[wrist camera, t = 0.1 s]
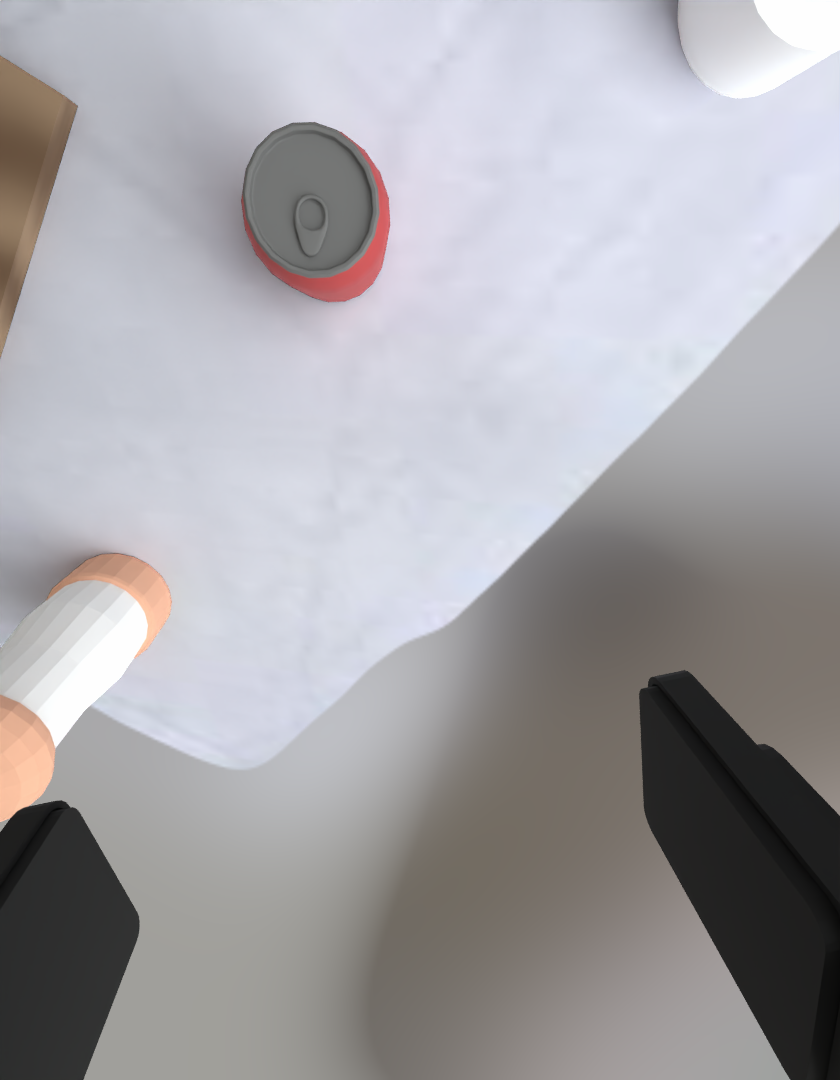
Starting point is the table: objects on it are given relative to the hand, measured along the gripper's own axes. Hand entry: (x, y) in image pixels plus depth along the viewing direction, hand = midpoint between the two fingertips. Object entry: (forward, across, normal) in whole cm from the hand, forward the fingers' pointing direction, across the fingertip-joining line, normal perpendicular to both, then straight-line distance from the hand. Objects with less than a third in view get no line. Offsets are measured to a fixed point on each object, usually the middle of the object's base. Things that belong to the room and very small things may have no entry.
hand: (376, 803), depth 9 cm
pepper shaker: (+31, +21, +8) cm, 39 cm away
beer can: (+31, 0, -12) cm, 34 cm away
